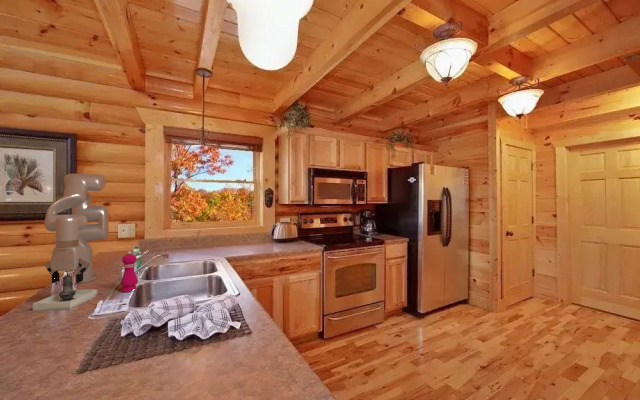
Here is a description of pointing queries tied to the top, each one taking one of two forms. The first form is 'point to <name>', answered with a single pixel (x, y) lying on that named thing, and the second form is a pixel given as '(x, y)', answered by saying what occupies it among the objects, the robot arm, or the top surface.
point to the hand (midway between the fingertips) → (67, 282)
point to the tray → (54, 303)
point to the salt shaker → (67, 289)
